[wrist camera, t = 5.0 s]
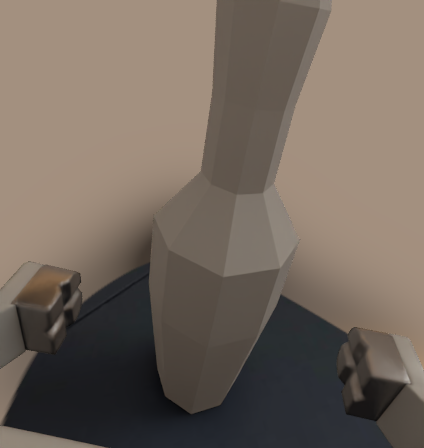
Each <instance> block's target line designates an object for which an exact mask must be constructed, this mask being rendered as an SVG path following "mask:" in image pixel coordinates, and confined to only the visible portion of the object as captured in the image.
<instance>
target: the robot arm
mask: <svg viewBox="0 0 424 448" xmlns="http://www.w3.org/2000/svg"><path fill="white" fill-rule="evenodd" d="M80 283H81V277H80V273H78V272H76V271H71V270H67V269H63V268H58V267H54V266H49V265H43V264H39V263H35V262H26V263H24V264H23V265H22V266H21V267H20V268H19V269H18V271H17V272H16V273H15V274H14V275H13V276H12V277H11V278H10V279H9V280H8V281H7V282H6V284H5V285H4V286H3V287H2V288H1V289H0V369H1V368H2V367H4V366H5V365H6V364H8V363H9V362H11V361H12V360H14V359H15V358H17V357H18V356H20V355H21V354H22V353H24V352H25V350H31V351H37V352H42V353H48V354H54V355H55V354H56V353H57V351H58V349H59V348H60V346H61V344H62V343H63V341H64V339H65V338H66V336H67V335H66V328H67V327H68V326H70V325H72V324H74V322H75V320H76V318H77V317H78V314H79V311H80V309H81V305H82V292H81V291H80V290H79V289H78V286H79V284H80ZM348 339H349V342H347V343H345V344H343V345H342V346H341V348H340V350H339V352H338V356H337V373H338V377H339V379H340V380H341V381H342V382H343V383H344V385H345V386H344V388H343V390H342V391H341V393H342V397H343V402H344V407H345V412H346V414H347V415H352V416H356V417H360V418H364V419H369V420H373V421H377V422H376V424H377V425H378V427H379V428H380V429H381V431H382V432H383V434H384V435H385V437H386V438H387V440H388V441H389V442H390V444H391V445H392V447H393V448H424V370H423V367H422V365H421V363H420V361H419V358H418V356H417V354H416V352H415V349H414V347H413V345H412V343H411V341H410V339H408V338H407V337H405V336H400V335H394V334H387V333H383V332H378V331H373V330H367V329H363V328H357V327H354V328H352V329H351V330H350V332H349V333H348ZM0 448H107V447H102V446H97V445H92V444H88V443H83V442H78V441H73V440H68V439H64V438H59V437H54V436H49V435H44V434H40V433H35V432H30V431H25V430H20V429H16V428H11V427H6V426H1V425H0Z"/></svg>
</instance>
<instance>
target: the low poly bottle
mask: <svg viewBox="0 0 424 448" xmlns="http://www.w3.org/2000/svg"><path fill="white" fill-rule="evenodd" d="M331 1H332V0H217V9H216V31H215V49H214V69H213V89H212V98H211V106H210V112H209V119H208V126H207V133H206V140H205V146H204V153H203V160H202V168H201V172H200V173H199V174H198V175H196V176H195V177H194V178H193V179H192V180H191V181H190V182H189V183H188V184H187V185H186V186H185V187H183V188H182V190H180V191H179V192H178V193H177V194H176V195H175V196H174V197H173V198H172V199H171V200H170V201H168V202H167V203H166V204H165V205H164V206H163V207H162V208H161V209H160V210H159V211H158V212H157V213H156V214H155V215H154V218H153V231H152V246H151V261H150V276H149V289H150V299H151V309H152V319H153V329H154V339H155V350H156V360H157V369H158V373H159V376H160V380H161V383H162V387H163V391H164V394H165V396H166V397H167V398H169V399H170V400H171V401H173V402H174V403H176V404H177V405H179V406H180V407H182V408H183V409H184V410H186V411H187V412H189V413H190V414H193V413H196V412H200V411H203V410H206V409H209V408H212V407H216V406H219V405H221V403H222V402H223V400H224V398H225V397H226V395H227V393H228V392H229V390H230V388H231V387H232V385H233V383H234V381H235V380H236V378H237V376H238V374H239V372H240V371H241V369H242V367H243V365H244V363H245V361H246V360H247V358H248V356H249V354H250V352H251V350H252V349H253V347H254V345H255V343H256V341H257V340H258V338H259V336H260V334H261V332H262V330H263V329H264V327H265V325H266V323H267V321H268V319H269V318H270V316H271V314H272V312H273V310H274V309H275V307H276V305H277V302H278V300H279V297H280V294H281V291H282V288H283V285H284V283H285V280H286V277H287V274H288V272H289V269H290V266H291V263H292V260H293V258H294V254H295V252H296V249H297V246H298V244H299V240H300V239H299V237H298V235H297V233H296V231H295V229H294V226H293V224H292V222H291V220H290V218H289V215H288V213H287V211H286V209H285V207H284V205H283V202H282V200H281V198H280V196H279V194H278V192H277V190H276V187H275V185H274V181H275V178H276V174H277V170H278V167H279V163H280V160H281V156H282V152H283V149H284V145H285V141H286V138H287V134H288V131H289V127H290V123H291V120H292V116H293V112H294V108H295V105H296V103H297V100H298V97H299V95H300V92H301V90H302V87H303V84H304V81H305V79H306V76H307V74H308V71H309V68H310V66H311V63H312V60H313V58H314V55H315V52H316V50H317V47H318V44H319V42H320V39H321V36H322V34H323V31H324V29H325V26H326V23H327V20H328V18H329V15H330V12H331Z"/></svg>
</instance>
